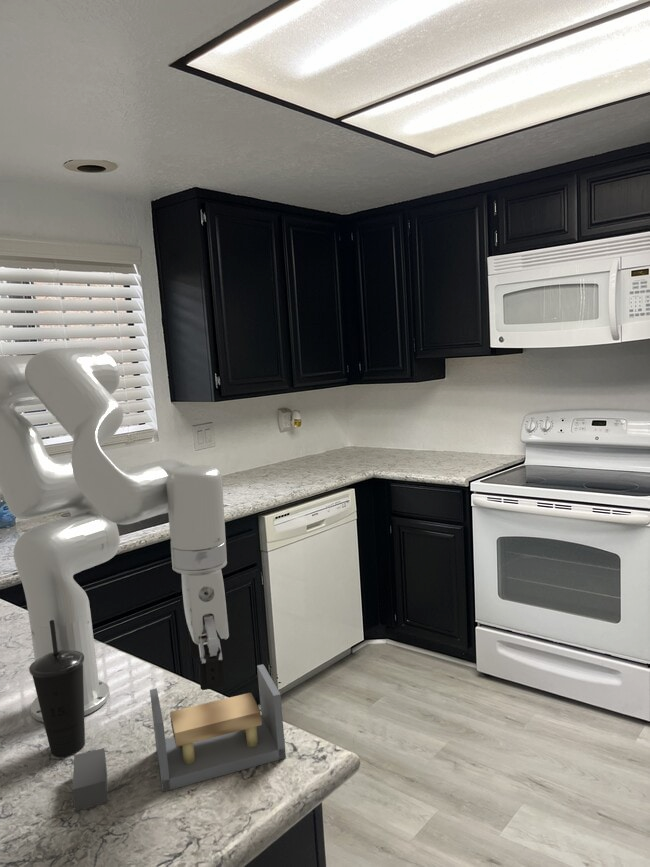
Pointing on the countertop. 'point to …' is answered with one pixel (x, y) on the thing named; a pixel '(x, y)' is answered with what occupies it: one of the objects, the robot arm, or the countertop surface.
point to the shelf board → (215, 719)
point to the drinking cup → (61, 697)
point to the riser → (89, 779)
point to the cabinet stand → (222, 743)
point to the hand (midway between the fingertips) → (206, 670)
